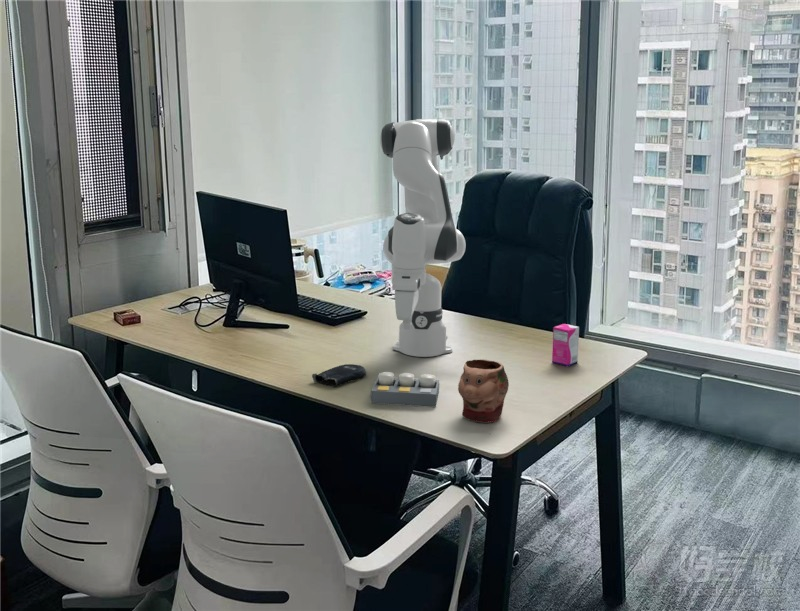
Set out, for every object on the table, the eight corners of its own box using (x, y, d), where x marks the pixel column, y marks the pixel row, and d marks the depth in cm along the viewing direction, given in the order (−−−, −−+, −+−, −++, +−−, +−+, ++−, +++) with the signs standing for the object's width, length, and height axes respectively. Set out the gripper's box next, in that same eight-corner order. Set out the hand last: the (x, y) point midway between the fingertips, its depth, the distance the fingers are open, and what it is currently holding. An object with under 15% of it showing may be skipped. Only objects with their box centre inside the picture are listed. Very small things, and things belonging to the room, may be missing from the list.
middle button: (400, 381, 230) (400, 372, 230) (414, 382, 230) (414, 373, 229) (398, 386, 226) (398, 377, 226) (413, 387, 226) (413, 378, 225)
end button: (379, 380, 231) (379, 371, 230) (394, 381, 230) (394, 372, 230) (377, 385, 227) (377, 376, 226) (392, 386, 227) (392, 377, 226)
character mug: (470, 398, 228) (472, 348, 224) (515, 404, 224) (518, 354, 220) (448, 424, 210) (450, 371, 206) (496, 432, 206) (499, 378, 202)
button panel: (377, 389, 234) (377, 376, 233) (438, 392, 232) (439, 379, 231) (371, 403, 223) (371, 389, 222) (435, 407, 221) (436, 393, 220)
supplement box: (561, 358, 263) (564, 322, 260) (578, 363, 259) (580, 326, 256) (550, 362, 259) (553, 326, 256) (567, 367, 255) (569, 330, 252)
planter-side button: (420, 382, 230) (420, 373, 229) (435, 383, 229) (435, 374, 229) (419, 387, 226) (419, 378, 225) (434, 388, 225) (434, 379, 225)
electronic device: (339, 395, 234) (373, 374, 245) (335, 376, 232) (370, 355, 243) (314, 392, 239) (349, 371, 251) (310, 373, 238) (345, 353, 249)
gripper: (401, 268, 231) (400, 317, 235) (391, 285, 211) (390, 338, 215) (424, 269, 230) (423, 318, 234) (416, 286, 211) (415, 339, 214)
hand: (407, 327), depth 224 cm, fingers closed
